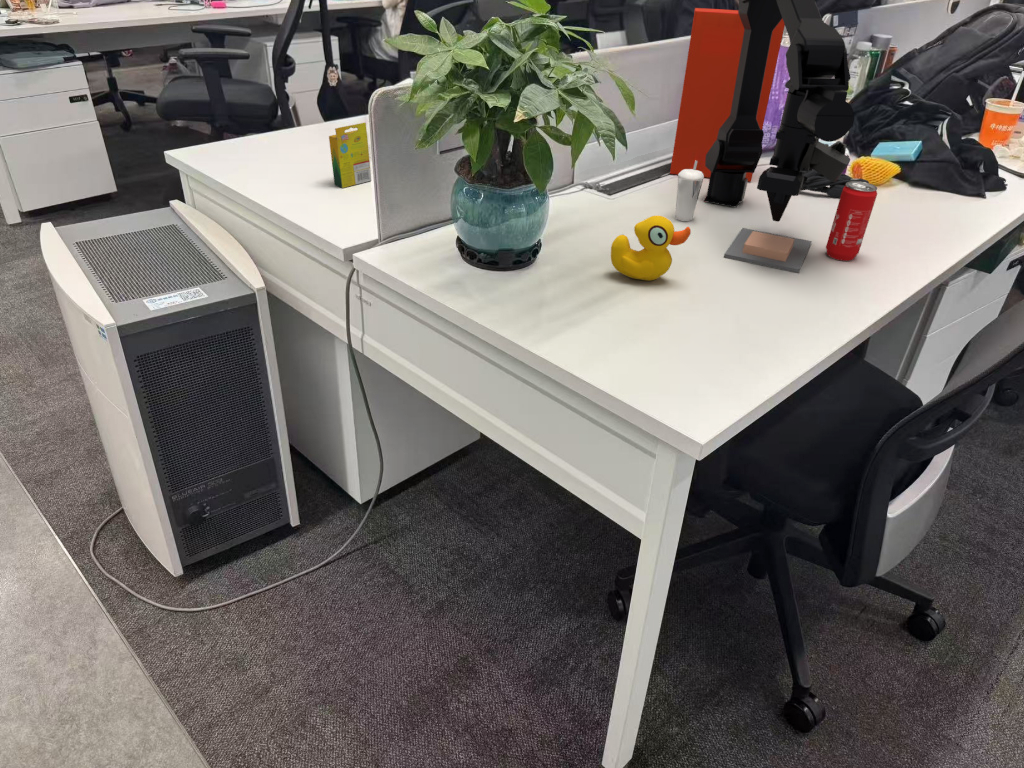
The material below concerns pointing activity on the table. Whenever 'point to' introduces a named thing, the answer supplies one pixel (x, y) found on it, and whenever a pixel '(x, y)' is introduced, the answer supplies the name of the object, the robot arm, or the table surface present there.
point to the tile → (768, 246)
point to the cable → (827, 183)
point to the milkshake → (688, 193)
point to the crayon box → (350, 156)
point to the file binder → (714, 85)
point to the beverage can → (851, 220)
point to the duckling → (647, 249)
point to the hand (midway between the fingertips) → (776, 220)
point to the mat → (791, 263)
